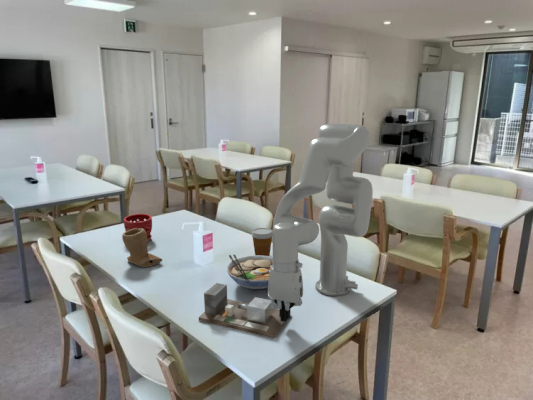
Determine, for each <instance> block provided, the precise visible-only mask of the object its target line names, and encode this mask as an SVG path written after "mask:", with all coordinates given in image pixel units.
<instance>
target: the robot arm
mask: <svg viewBox="0 0 533 400" xmlns="http://www.w3.org/2000/svg"><path fill="white" fill-rule="evenodd" d="M370 135H371V134H370V130H369V128H368V127H366V126H365V125H362V124H351V123H350V124H347V123H326V124H323V125H322V126H320V128H319V130H318V137H317V138H314V139H312V140H311V141H310V142H309V145H308V147H307V151H306V155H305V157H304V161H303V165H302V169H301V172H300V175H299V179H298V182H297V183H296V184H295V185H293V186H292V187H291V188H290V189H289V190H287V192H286V193H285V194H284V195H283V196H282V198H281V199H280V200H279V203H278V204H277V207H276V211H275V215H274V217H273V222H272V223H273V224H272V232H273V236H272V257H273V265H272V267H271V269H270V274H269V280H268V287H267V295H268V297H267V300H271V301H273V302H274V304H275V305H277V308H278V310H279V316H280V317H281V321H284V322H286V323H287V322H288V320H289V319H291V310H292V308H293V307H300V306H302V305H303V299H302V298H303V296H304V285H303V284H304V282H303V281H304V280H303V274H302V269H301V268H303V263H302V262H300V259H299V246H304V245H308V244H311V243H313V242H314V241H315V240H317V237H318V236H319V234H320V261H319V263H320V264H319V280H317V281H316V282H315V285H314V286H315V289H316V291H317V292H319V293H321V294H322V295H325V296H332V297H338V296H339V297H340V296H343V295H344V296H345V295H346V294H347V293H349V291H350V290H351V289H353V290H358V287H359V284H358V283H356V281H355V280H354V281H353V280H350V279H349V276H348V275H347V266H348V263H347V262H348V250H349V249H348V245H349V244H348V240H347V238H346V236H349V237H355V238H362V237H364V236H365V235H366V234H367V232H368V230H369V226H370V219H371V212H372V211H371V210H372V205H373V204H372V203H373V194H374V193H373V192H374V190H373V184H372V182H371V180H369V179H368V178H365V177H360V176H354V166H355V165H354V164H355V163H354V162H355V161H356V160H357V159H359V157H360V156H361V154H363V152H365V150H366V149H367V148H368V146H369V143H370V139H371V136H370ZM325 189H326V192H325V193H326V197H327V198H328V199H329V200H330V201H332V202H338V203H343V204H348V205H352V206H353V207H348V206H342V205H337V204H328V205H325V206H323V207H322V208H321V210H320V211H319V214H318V223H319V224H318V223H317V222H316V221H315V220H312V219H310V218H306V217H300V216H296V215H292V214H291V213H292V210H293V208H294V207H295V206H296V204H298V202H299V201H301V200H303V199H305V198H308V197H310V196H313V195H316V194H320V193H323V192H324V191H325ZM319 232H320V233H319Z"/></svg>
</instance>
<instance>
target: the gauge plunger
mask: <svg viewBox="0 0 533 400" xmlns="http://www.w3.org/2000/svg"><path fill="white" fill-rule="evenodd" d="M273 302H274V301H271V300H269V299H268V298H267V299H265V298H263V297H262V298H261V297H256V296H255V297H254V298H253V299H252V300H251V301H250V302H248V303H249V305H245V304H240V303H239V304H238V308H239V309H244V310H247V316H248V320H249V321H253V322H258V323H262V324H266V323H267V321H268V320H269V319H270V317H271V316H272V315H273V309H274V308H273V307H274V306H273Z"/></svg>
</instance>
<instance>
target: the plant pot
mask: <svg viewBox="0 0 533 400" xmlns="http://www.w3.org/2000/svg"><path fill="white" fill-rule="evenodd" d="M123 225H124V227H123V228H124V230H125V231H124V232H126V231H128V230H131V229H135V228H140V229H142V228H143V229H144V230H145V231H146V234H147V239H148V242H149V241H150V240H151V239H152V237H153V236H152V229H153V217H152V215H150V214H148V213H135V214H129V215H127V216H125V217H124V218H123Z"/></svg>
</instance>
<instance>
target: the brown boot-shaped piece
mask: <svg viewBox="0 0 533 400" xmlns="http://www.w3.org/2000/svg"><path fill="white" fill-rule="evenodd" d="M121 237H122V238H121V239H122V241H123V244H124V246H125V248H126V249H127V251H128V252H129V253H128V254H129V256H128V257H127V261H128V262H130V263H132V264H134V265H137V266H139V267H142V268H149V267H151V268H152V267H154V266H156V265H158V264H160V263H162V262H163V258H161V257H160V256H157V255H154V254H152V253H150V252H148V251H149V250H148V242H149V241H148V239H147V234H146V231H145V230H144V229H143V228H142V229H140V228H135V229H131V230H128V231H124V232H123V233H122V235H121Z"/></svg>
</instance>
